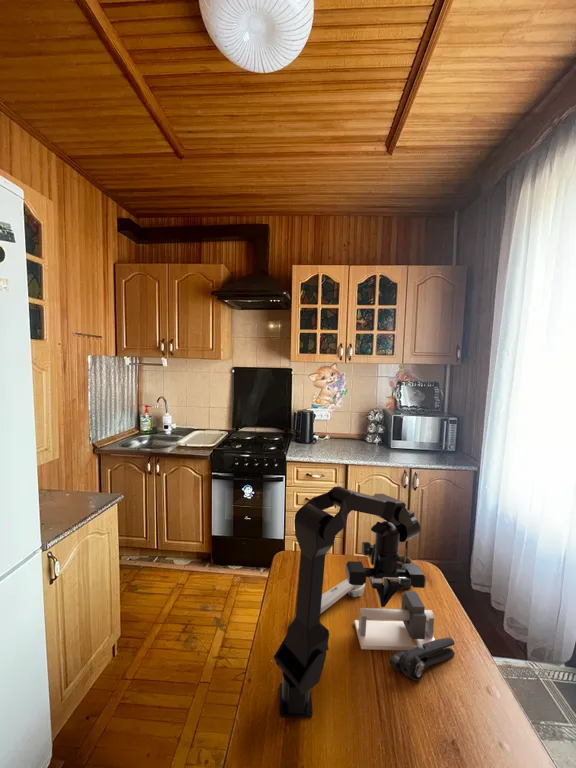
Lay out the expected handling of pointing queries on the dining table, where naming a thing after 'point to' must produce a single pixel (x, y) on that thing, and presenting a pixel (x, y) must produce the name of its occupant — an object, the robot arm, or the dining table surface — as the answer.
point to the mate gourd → (403, 560)
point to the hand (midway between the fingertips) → (382, 606)
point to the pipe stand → (389, 629)
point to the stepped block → (414, 614)
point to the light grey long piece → (340, 593)
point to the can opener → (422, 657)
